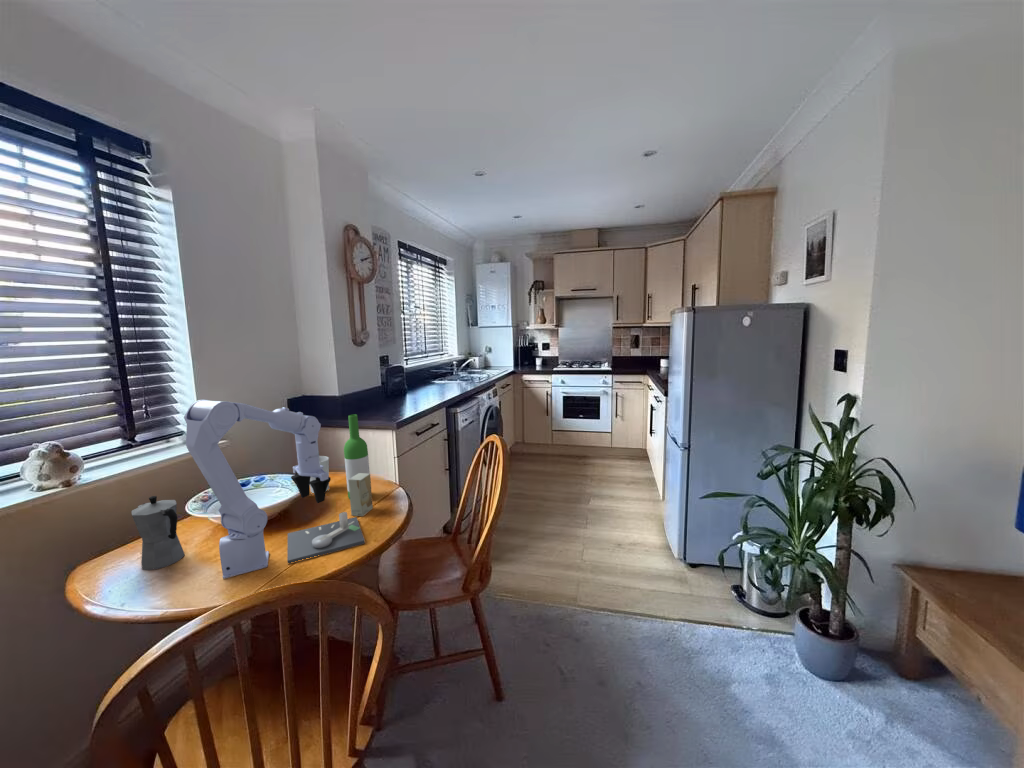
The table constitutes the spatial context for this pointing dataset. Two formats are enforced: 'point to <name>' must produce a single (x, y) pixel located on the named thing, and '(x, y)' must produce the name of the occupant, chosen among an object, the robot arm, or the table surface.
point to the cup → (324, 462)
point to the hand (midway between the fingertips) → (312, 499)
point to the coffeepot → (158, 533)
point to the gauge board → (302, 539)
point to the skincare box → (360, 494)
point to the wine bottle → (355, 452)
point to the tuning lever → (327, 538)
